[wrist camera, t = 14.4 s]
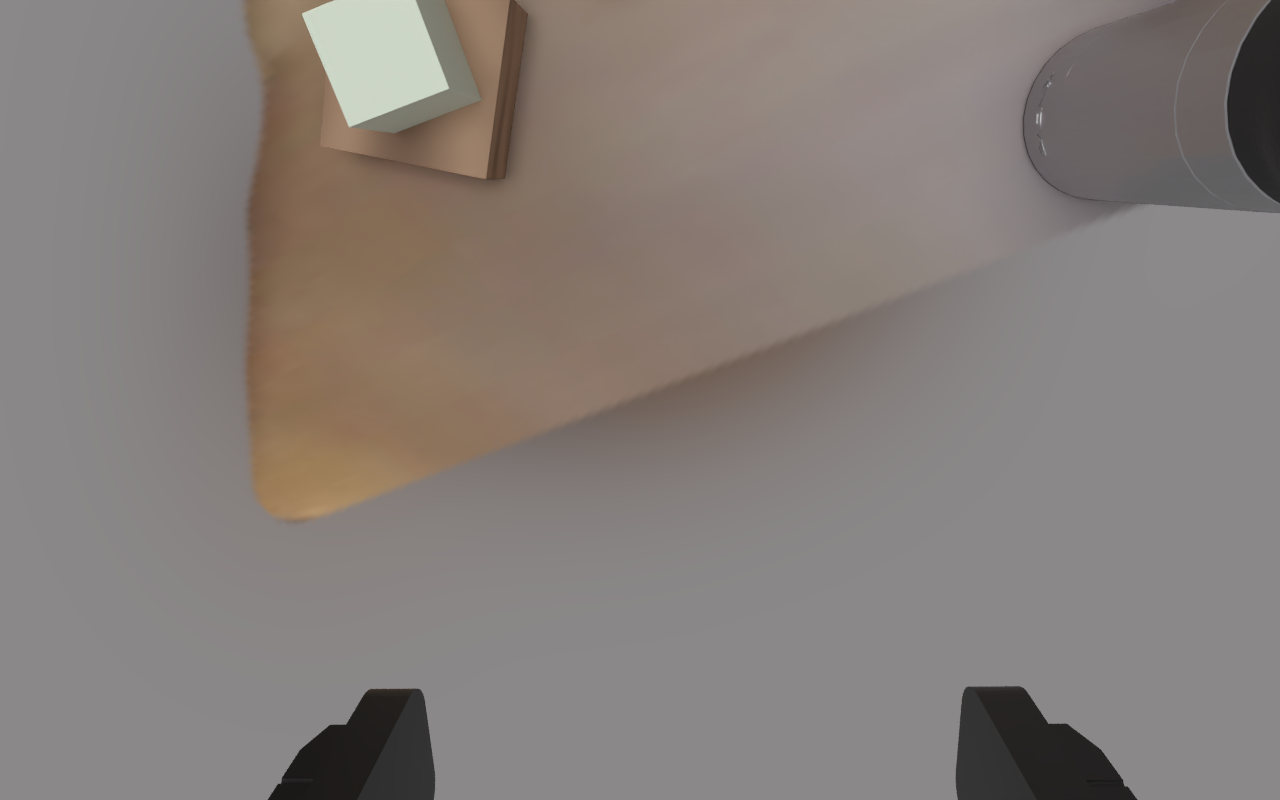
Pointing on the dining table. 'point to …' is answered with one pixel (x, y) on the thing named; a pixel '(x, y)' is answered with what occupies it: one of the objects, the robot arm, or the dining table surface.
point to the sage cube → (392, 61)
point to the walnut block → (467, 133)
